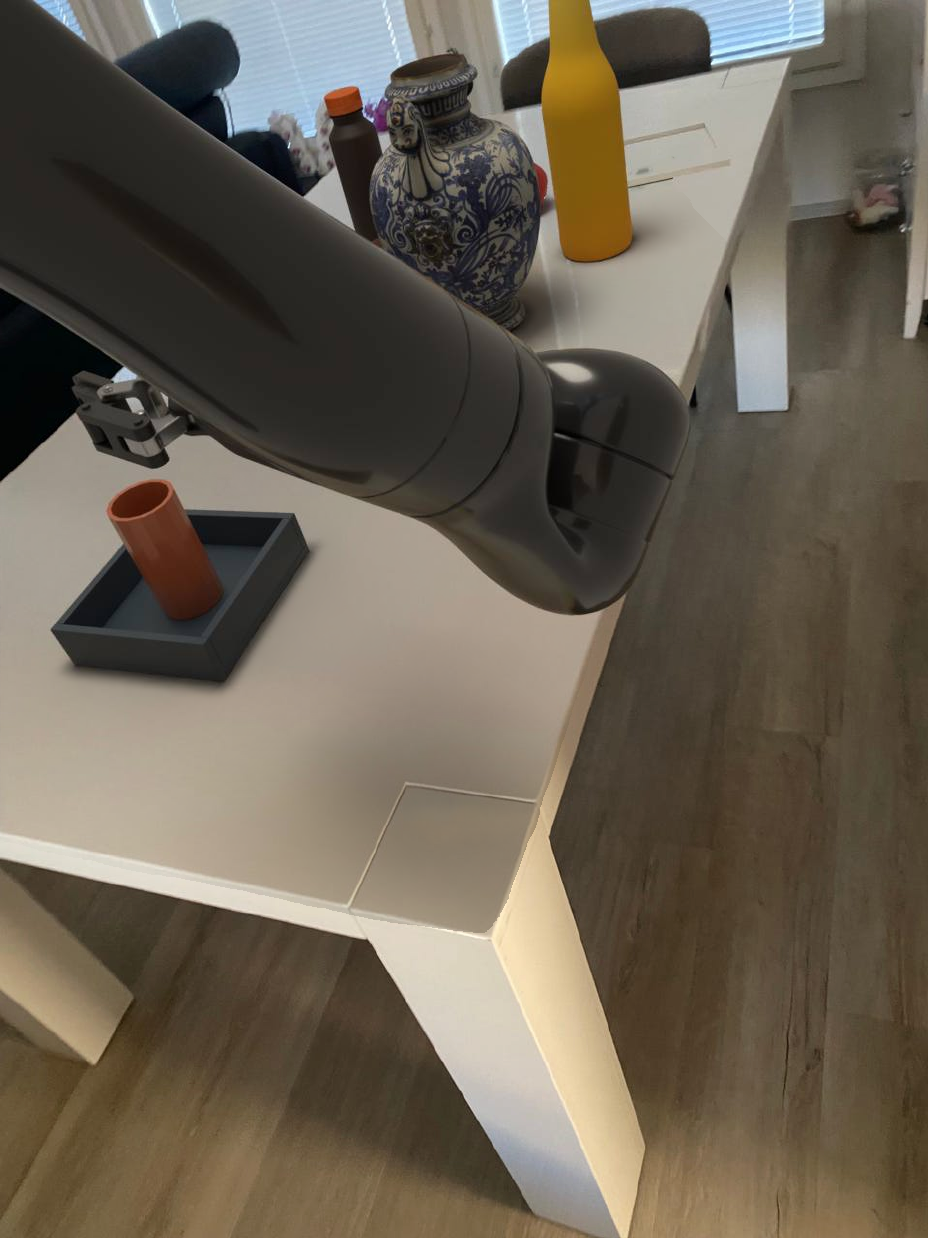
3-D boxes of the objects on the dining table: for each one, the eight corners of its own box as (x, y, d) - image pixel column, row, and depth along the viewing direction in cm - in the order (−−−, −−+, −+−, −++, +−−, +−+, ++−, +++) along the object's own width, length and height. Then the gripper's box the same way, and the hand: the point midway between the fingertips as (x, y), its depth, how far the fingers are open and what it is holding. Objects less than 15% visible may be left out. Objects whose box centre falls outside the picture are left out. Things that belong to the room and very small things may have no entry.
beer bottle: (587, 269, 119) (554, 2, 100) (548, 251, 126) (509, -3, 106) (648, 242, 121) (626, -25, 102) (606, 225, 128) (578, -28, 109)
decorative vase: (434, 287, 125) (376, 48, 106) (573, 275, 119) (537, 19, 100) (381, 372, 111) (304, 113, 92) (536, 363, 104) (486, 84, 86)
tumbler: (203, 622, 82) (149, 522, 75) (151, 618, 84) (93, 519, 77) (234, 579, 86) (185, 479, 78) (183, 576, 88) (131, 478, 80)
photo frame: (624, 179, 135) (611, 139, 148) (625, 187, 136) (612, 147, 149) (730, 156, 133) (707, 118, 146) (730, 165, 134) (707, 126, 147)
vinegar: (365, 231, 145) (325, 88, 132) (407, 225, 144) (371, 80, 130) (353, 250, 141) (310, 104, 128) (396, 244, 139) (357, 95, 126)
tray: (223, 681, 77) (203, 644, 74) (74, 664, 83) (49, 629, 80) (309, 549, 88) (294, 512, 85) (171, 542, 94) (153, 507, 91)
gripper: (390, 271, 49) (206, 242, 59) (176, 413, 43) (8, 354, 52) (425, 398, 54) (250, 352, 64) (237, 543, 48) (73, 468, 57)
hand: (141, 353), depth 58 cm, fingers open, 8 cm apart
